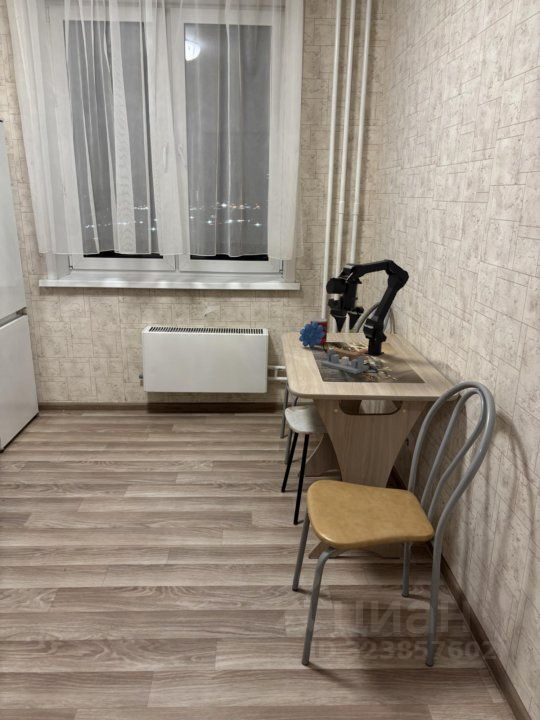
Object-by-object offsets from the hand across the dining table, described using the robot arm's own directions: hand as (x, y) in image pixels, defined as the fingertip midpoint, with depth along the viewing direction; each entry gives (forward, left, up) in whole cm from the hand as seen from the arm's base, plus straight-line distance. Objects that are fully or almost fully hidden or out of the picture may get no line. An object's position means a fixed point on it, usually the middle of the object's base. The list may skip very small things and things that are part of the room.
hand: (344, 330), depth 227 cm
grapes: (-5, -21, -12) cm, 25 cm away
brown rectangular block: (-1, 0, -12) cm, 12 cm away
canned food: (-14, -24, -12) cm, 30 cm away
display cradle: (+10, +8, -12) cm, 18 cm away
